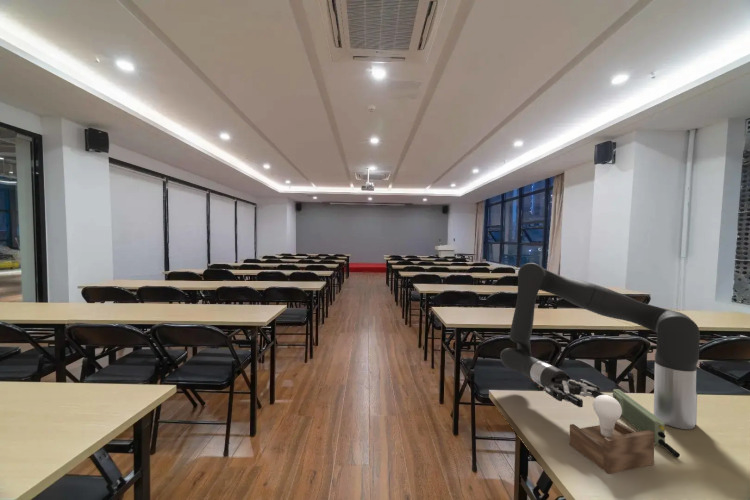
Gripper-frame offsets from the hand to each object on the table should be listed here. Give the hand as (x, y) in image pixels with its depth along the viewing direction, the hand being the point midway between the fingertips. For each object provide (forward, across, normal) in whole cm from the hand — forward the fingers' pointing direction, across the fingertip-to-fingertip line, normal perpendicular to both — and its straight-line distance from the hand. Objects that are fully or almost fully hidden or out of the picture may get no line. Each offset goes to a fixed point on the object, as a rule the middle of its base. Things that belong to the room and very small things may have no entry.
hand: (594, 402), depth 87 cm
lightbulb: (+4, 0, +8) cm, 8 cm away
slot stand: (+4, 0, +11) cm, 12 cm away
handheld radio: (-2, +19, +12) cm, 23 cm away
